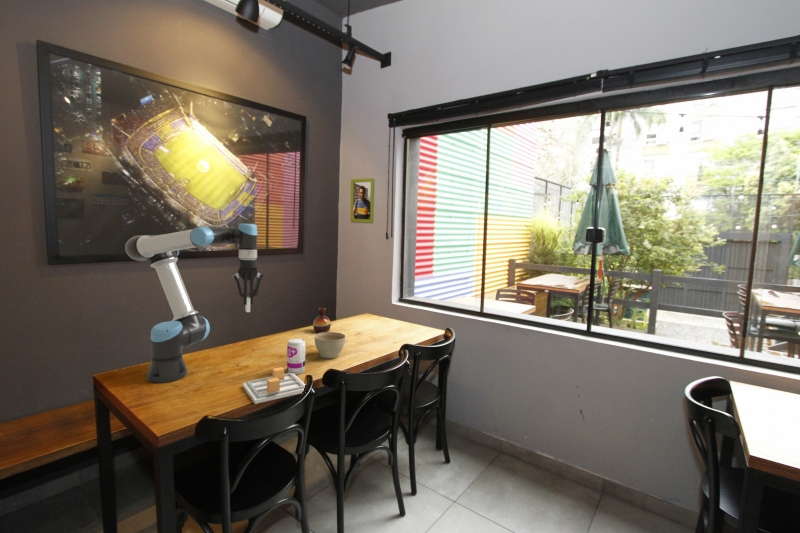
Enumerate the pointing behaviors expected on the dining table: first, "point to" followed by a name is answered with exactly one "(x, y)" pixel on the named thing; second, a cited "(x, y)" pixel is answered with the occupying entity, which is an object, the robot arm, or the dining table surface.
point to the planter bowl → (329, 344)
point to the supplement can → (296, 356)
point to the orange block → (278, 373)
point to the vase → (321, 322)
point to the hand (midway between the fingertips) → (247, 311)
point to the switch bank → (260, 393)
